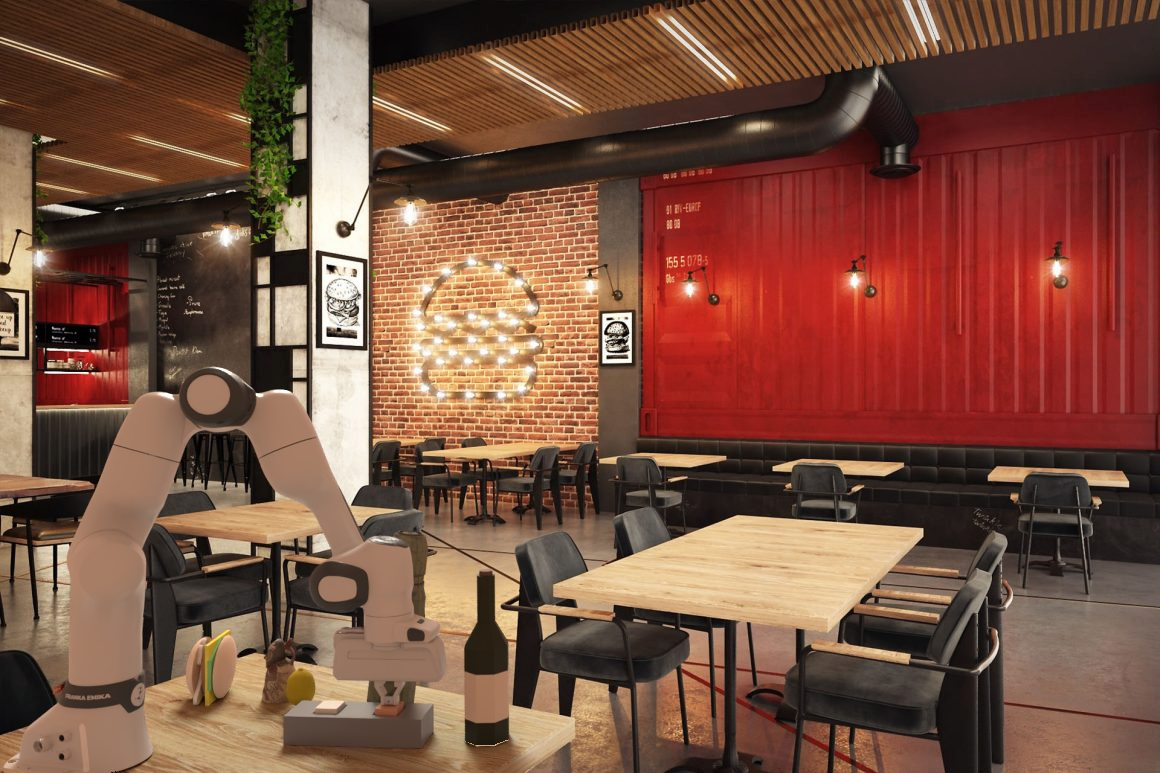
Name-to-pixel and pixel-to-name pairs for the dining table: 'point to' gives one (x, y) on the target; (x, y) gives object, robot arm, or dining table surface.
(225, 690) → the hamburger
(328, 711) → the pale key
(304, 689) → the lemon
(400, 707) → the clay key
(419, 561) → the thermos
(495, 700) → the wine bottle
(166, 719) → the dining table surface
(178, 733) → the dining table surface
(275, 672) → the figurine
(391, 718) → the key panel
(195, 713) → the dining table surface
